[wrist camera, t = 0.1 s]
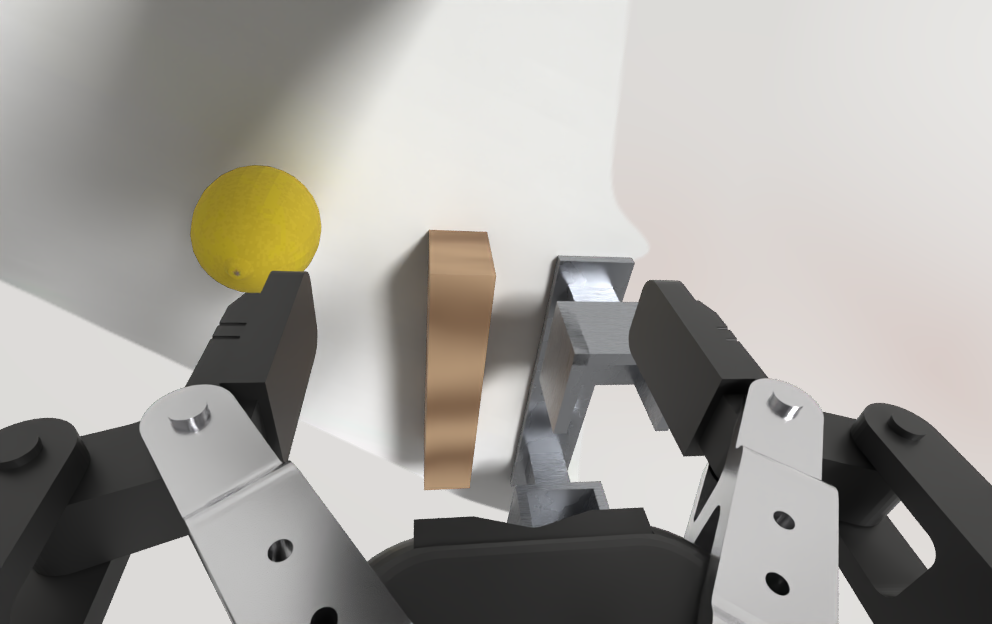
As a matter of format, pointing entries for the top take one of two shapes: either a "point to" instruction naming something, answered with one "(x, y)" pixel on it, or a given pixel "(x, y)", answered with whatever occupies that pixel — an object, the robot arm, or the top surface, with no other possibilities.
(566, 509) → the bracket stand
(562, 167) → the top surface
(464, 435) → the rail
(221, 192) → the lemon
